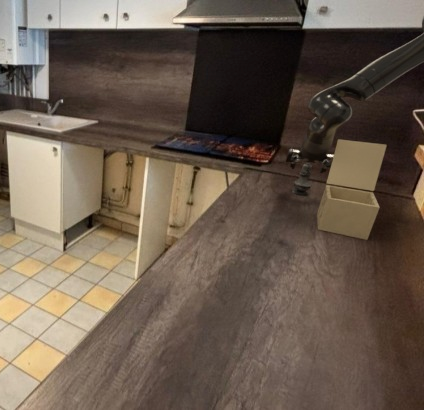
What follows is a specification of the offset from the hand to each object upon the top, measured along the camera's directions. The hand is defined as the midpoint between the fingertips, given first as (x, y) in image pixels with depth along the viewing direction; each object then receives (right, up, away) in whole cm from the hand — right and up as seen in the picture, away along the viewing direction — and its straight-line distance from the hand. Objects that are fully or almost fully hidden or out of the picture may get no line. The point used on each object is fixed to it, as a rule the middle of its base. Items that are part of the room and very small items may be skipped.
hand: (307, 168), depth 124 cm
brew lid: (+3, -1, -18) cm, 18 cm away
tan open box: (-1, -19, -18) cm, 26 cm away
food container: (+20, -7, +10) cm, 24 cm away
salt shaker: (+2, -8, +7) cm, 11 cm away
